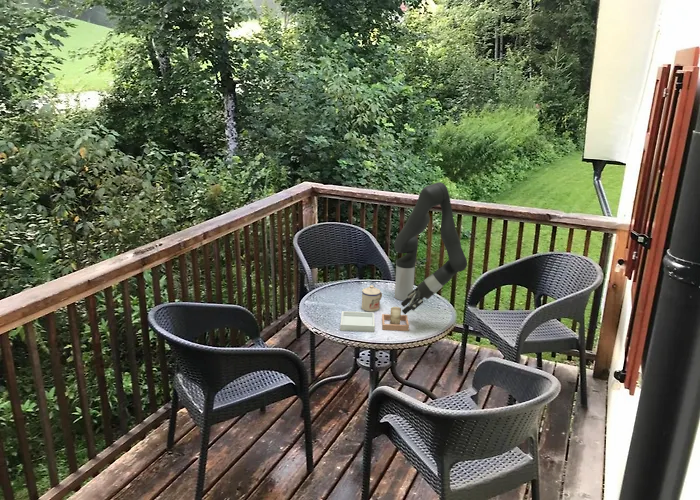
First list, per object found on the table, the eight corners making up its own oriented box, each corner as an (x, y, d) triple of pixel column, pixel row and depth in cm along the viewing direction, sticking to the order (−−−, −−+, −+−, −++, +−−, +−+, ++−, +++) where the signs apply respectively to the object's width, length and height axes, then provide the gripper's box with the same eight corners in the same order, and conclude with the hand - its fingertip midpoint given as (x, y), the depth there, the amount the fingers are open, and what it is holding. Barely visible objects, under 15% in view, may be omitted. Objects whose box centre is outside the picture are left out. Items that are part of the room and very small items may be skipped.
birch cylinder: (389, 322, 257) (390, 306, 255) (399, 323, 257) (400, 306, 255) (390, 326, 253) (391, 310, 250) (400, 327, 253) (401, 311, 250)
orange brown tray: (381, 319, 261) (382, 314, 260) (406, 320, 260) (407, 315, 260) (382, 329, 249) (382, 324, 249) (408, 331, 249) (408, 325, 249)
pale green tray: (341, 316, 262) (341, 311, 261) (373, 318, 261) (374, 312, 260) (340, 330, 247) (340, 324, 246) (374, 332, 247) (374, 326, 246)
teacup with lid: (370, 313, 266) (371, 290, 263) (357, 307, 272) (358, 285, 269) (387, 307, 274) (389, 285, 271) (374, 301, 280) (375, 279, 277)
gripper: (423, 274, 255) (396, 297, 258) (426, 286, 241) (398, 309, 245) (433, 286, 256) (407, 308, 260) (437, 298, 243) (409, 321, 246)
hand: (402, 308), depth 252 cm, fingers open, 8 cm apart
